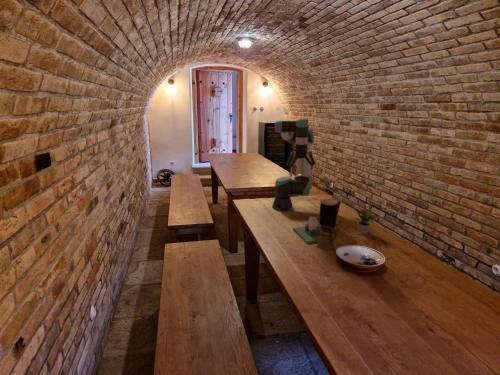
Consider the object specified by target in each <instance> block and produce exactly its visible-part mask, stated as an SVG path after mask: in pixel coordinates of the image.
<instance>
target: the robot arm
mask: <svg viewBox="0 0 500 375" xmlns="http://www.w3.org/2000/svg"><path fill="white" fill-rule="evenodd" d="M274 132H275V133H280V136H281V139H282V140H284V141H286V142H288V143H289V144H290V143H291V144H295V145H294V146H295V148H294V149H295V150H294V151H290V152H289V153H290V155H289V156H288V158H287V161H286V163H285V166H286V167H287V168H288V169H287V170H288V174H289V175H288V176H281V177H278V178H277V179H275V184H274V188H275V189H274V190H275V191H274V192H275V193H274V199H273V202H272V208H273V210H276V211H279V212H280V211H281V212H284V211H285V212H286V211H291V210H292V209H293V202H292V198H291V196H296V197H297V196H299V197H301V196H302V197H308V196H309V195H310V194H311V189H312V183H313V182H312V180H311V178H310V177H309V176H312V171H313V166H314V165H316V164H317V163H316V161H315V158H314V157H313V156H314V155H313V153H312V150H310V148H311V147H312V145H313V144H314V142H315V140H314V136H315V135H314V130H313V129H312V128H310V127H309V119H307V118H297V119H296V120H275V122H274ZM296 162H297V165H296V176H294V178H293V165H294V164H295V163H296ZM292 178H293V179H292Z"/></svg>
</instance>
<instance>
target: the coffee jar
mask: <svg viewBox="0 0 500 375" xmlns="http://www.w3.org/2000/svg"><path fill="white" fill-rule="evenodd" d="M337 203H338V202H337V201H336V200H333V199H329V198H323V199H320V204H319V205H320V206H319V219H318V224H320V225H321V227H322V226H328V227H331V228H333V227H334V226H335V225H336V224H337V217H338V215H337Z"/></svg>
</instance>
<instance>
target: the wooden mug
mask: <svg viewBox="0 0 500 375" xmlns="http://www.w3.org/2000/svg"><path fill="white" fill-rule="evenodd" d="M342 223H343V221H342V220H341V221H339V222H337V223H336V225H335V226H334V227H333V228H331V227H328V226H322V227H321V229H320V235H319V240H318V242H316V243H317V244H316V247H317V248H319V249H320V250H332V249H333V248H334V241H335V240H336V239H337V237H338V230H337V228H339V227H340V226H341V225H342Z"/></svg>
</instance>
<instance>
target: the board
mask: <svg viewBox="0 0 500 375" xmlns="http://www.w3.org/2000/svg"><path fill="white" fill-rule="evenodd" d="M320 229H321V225H320V224H319V222H317V228H316V229H312V230H310V232H309V222H306V224H305V225H304V226H299V227H298V226H297V227H293V228H292V231H293V232H294V233H295V234H296V235H297V236H298V237H299V238H300V239H302V241H303V242H305V243H306V245H308V244H315V243H318V240H319V235H320Z"/></svg>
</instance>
